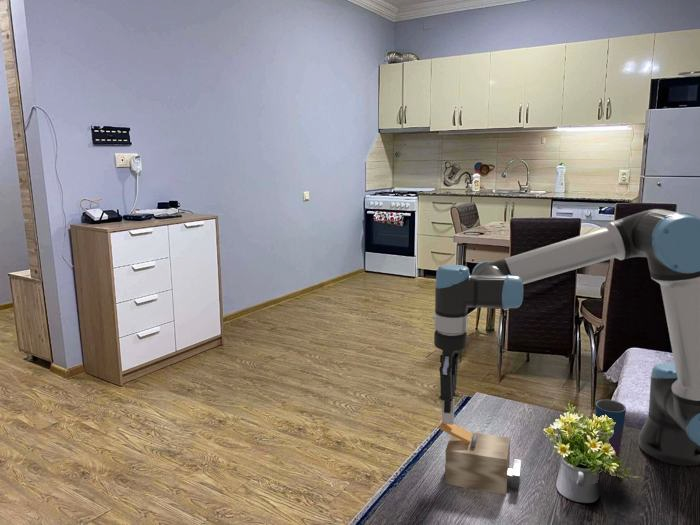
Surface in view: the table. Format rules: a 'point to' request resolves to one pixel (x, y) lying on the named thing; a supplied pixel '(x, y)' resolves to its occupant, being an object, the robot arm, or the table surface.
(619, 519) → the table surface
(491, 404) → the table surface
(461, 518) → the table surface
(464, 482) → the block
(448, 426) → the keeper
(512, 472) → the white l-shaped bar
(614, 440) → the cup
